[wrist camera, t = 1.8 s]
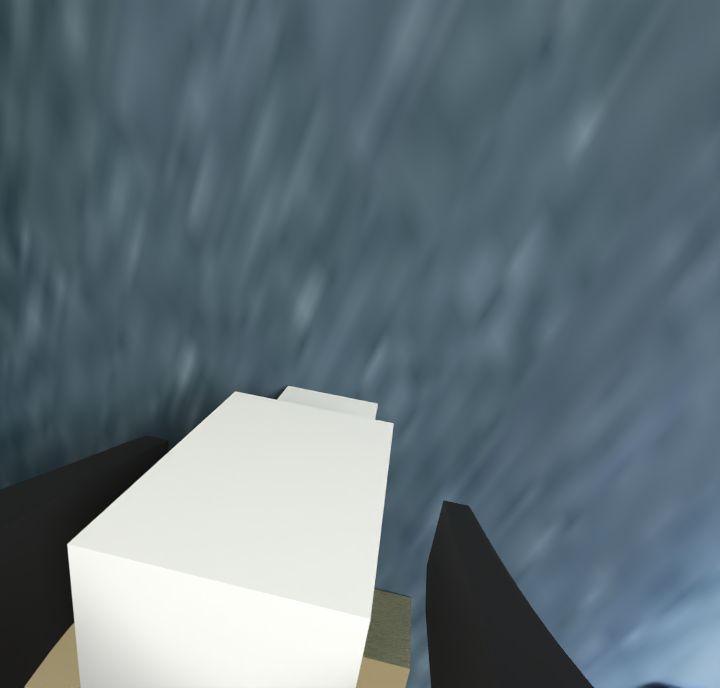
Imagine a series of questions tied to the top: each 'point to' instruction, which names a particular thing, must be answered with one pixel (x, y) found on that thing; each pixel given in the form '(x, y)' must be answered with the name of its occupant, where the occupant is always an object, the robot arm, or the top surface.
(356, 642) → the plug
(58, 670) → the socket plate
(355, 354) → the top surface
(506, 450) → the top surface
